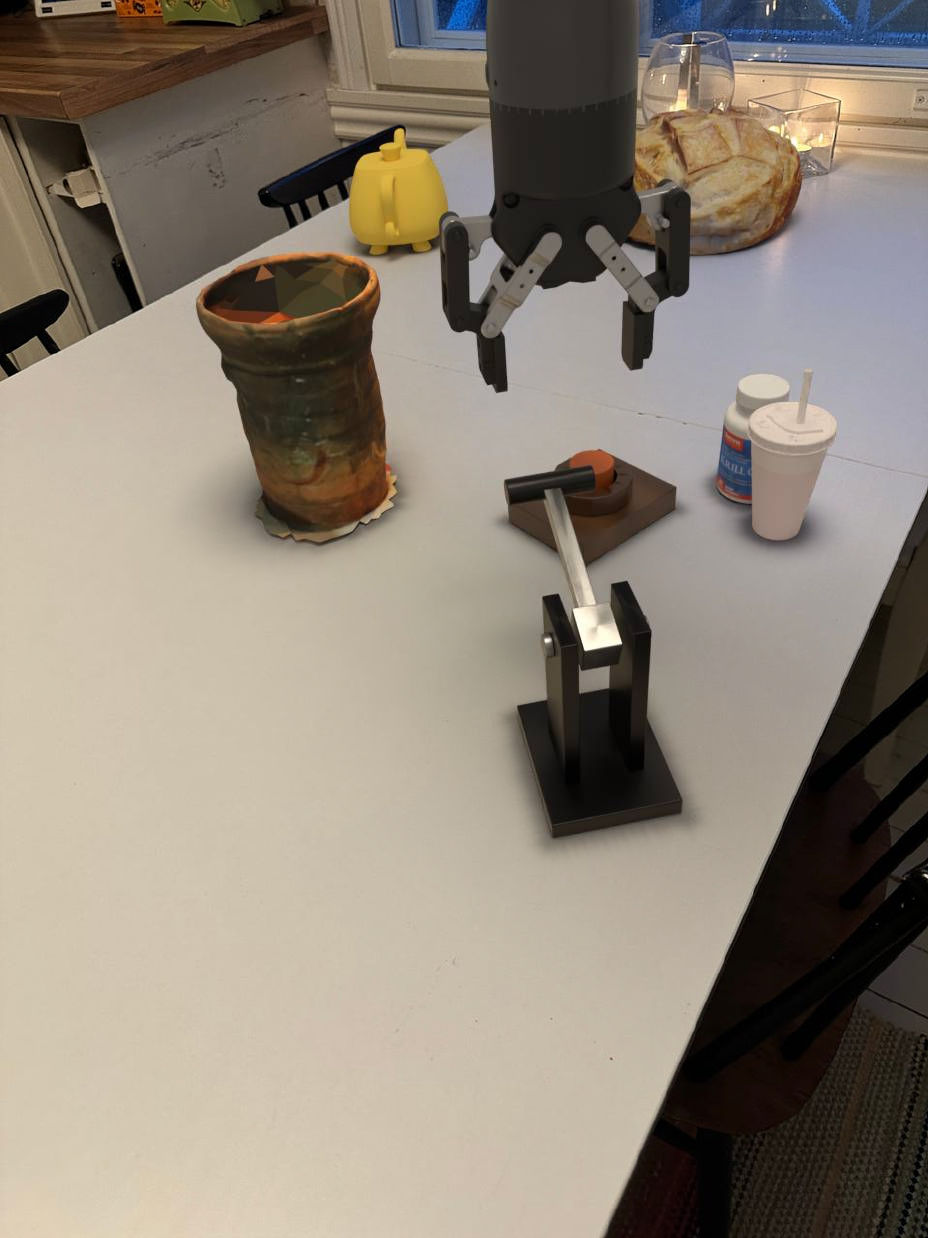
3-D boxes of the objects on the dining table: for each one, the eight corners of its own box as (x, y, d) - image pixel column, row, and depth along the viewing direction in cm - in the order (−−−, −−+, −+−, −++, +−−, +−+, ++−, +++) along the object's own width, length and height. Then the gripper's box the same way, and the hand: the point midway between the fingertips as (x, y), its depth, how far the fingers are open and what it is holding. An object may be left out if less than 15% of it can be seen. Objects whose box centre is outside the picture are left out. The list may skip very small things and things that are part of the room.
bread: (615, 199, 141) (608, 90, 131) (806, 187, 131) (814, 67, 121) (574, 266, 124) (562, 145, 114) (789, 257, 114) (797, 125, 104)
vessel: (440, 503, 82) (412, 282, 69) (295, 566, 77) (234, 341, 64) (366, 438, 92) (328, 233, 79) (232, 491, 87) (168, 281, 74)
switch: (503, 494, 59) (503, 470, 57) (587, 479, 59) (590, 455, 57) (552, 677, 52) (554, 657, 50) (647, 659, 52) (652, 638, 50)
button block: (598, 469, 84) (599, 430, 81) (675, 508, 79) (678, 468, 76) (508, 521, 79) (505, 482, 77) (583, 567, 74) (583, 526, 71)
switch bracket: (517, 716, 63) (505, 570, 54) (632, 695, 63) (638, 546, 55) (552, 838, 55) (545, 690, 47) (682, 812, 56) (698, 661, 47)
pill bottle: (705, 495, 80) (715, 392, 73) (730, 464, 83) (742, 363, 76) (767, 512, 77) (783, 407, 70) (791, 480, 80) (808, 376, 74)
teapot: (345, 267, 126) (328, 168, 118) (367, 216, 141) (353, 125, 133) (445, 261, 125) (434, 159, 116) (456, 210, 139) (448, 117, 131)
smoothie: (792, 560, 72) (822, 399, 63) (719, 532, 76) (737, 375, 66) (831, 520, 75) (865, 361, 66) (760, 495, 79) (782, 340, 70)
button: (591, 462, 78) (591, 444, 77) (622, 478, 76) (623, 460, 75) (560, 480, 77) (560, 462, 76) (592, 497, 75) (591, 478, 74)
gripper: (436, 119, 43) (465, 424, 54) (726, 77, 45) (698, 384, 55) (413, 84, 49) (443, 367, 60) (671, 48, 50) (655, 332, 61)
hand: (566, 375), depth 58 cm, fingers open, 8 cm apart
